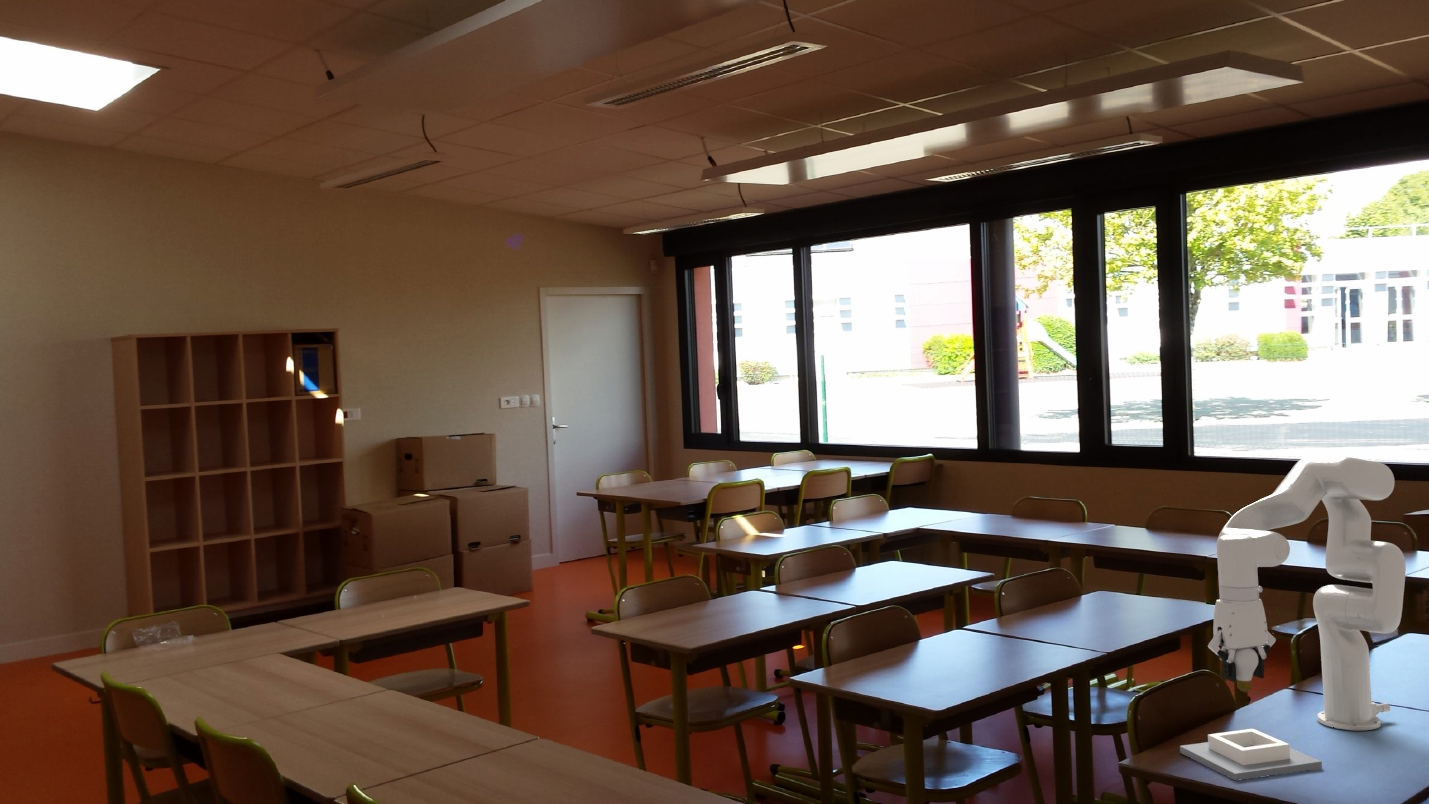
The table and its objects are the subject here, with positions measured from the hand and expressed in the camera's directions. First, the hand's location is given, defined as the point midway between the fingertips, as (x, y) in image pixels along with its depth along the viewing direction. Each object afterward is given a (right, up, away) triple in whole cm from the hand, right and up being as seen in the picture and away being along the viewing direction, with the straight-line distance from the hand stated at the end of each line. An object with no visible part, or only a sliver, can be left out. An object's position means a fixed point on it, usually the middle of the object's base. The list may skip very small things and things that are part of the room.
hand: (1243, 677), depth 224 cm
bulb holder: (+1, -18, 0) cm, 18 cm away
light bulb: (0, -3, 0) cm, 3 cm away
